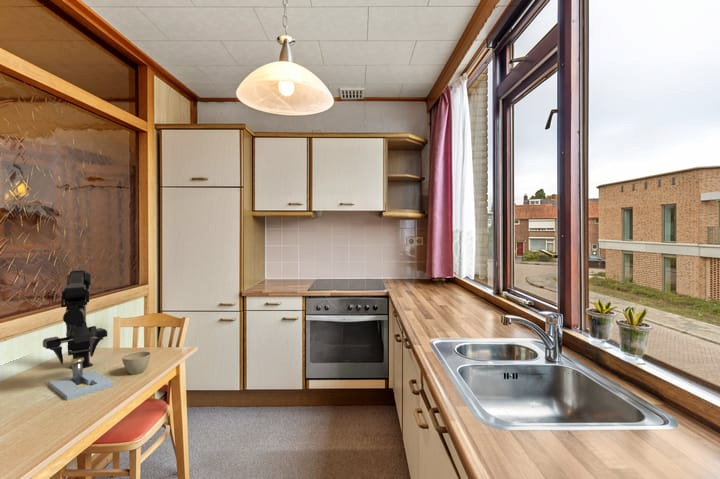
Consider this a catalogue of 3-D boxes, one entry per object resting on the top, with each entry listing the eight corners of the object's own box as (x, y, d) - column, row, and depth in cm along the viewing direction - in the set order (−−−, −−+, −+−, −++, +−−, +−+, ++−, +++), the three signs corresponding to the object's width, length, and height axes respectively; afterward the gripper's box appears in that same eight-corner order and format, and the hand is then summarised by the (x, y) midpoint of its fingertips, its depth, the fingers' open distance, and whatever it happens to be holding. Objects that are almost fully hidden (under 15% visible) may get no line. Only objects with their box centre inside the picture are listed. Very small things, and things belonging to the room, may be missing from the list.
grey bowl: (137, 377, 142) (137, 360, 142) (116, 376, 144) (115, 358, 144) (156, 368, 152) (156, 351, 151) (136, 366, 154) (136, 350, 153)
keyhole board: (49, 386, 135) (49, 381, 135) (93, 373, 146) (93, 369, 146) (67, 400, 123) (67, 395, 123) (113, 385, 135) (113, 381, 135)
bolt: (69, 384, 137) (68, 359, 136) (82, 380, 140) (81, 356, 140) (73, 386, 134) (72, 361, 134) (86, 382, 138) (85, 358, 137)
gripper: (50, 328, 124) (52, 372, 125) (112, 317, 139) (113, 357, 140) (41, 323, 131) (43, 366, 131) (101, 313, 146) (102, 351, 146)
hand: (77, 360), depth 137 cm, fingers open, 9 cm apart
